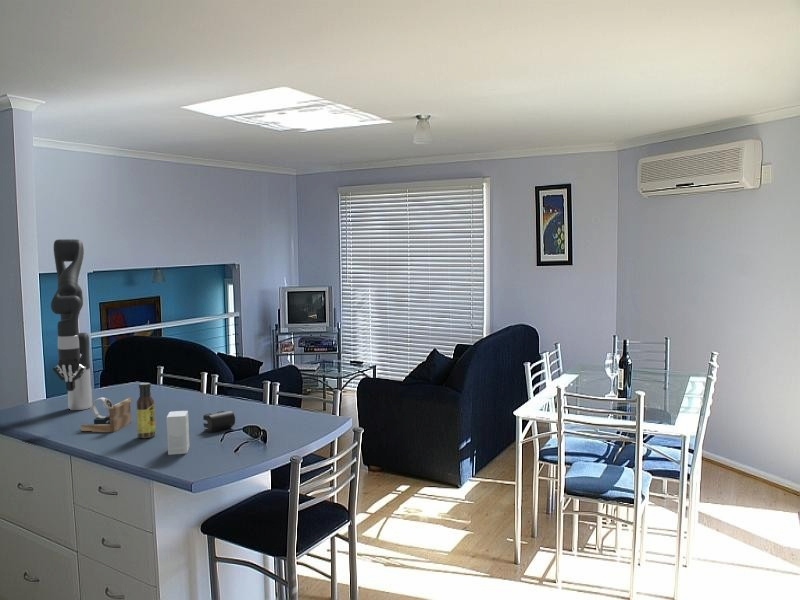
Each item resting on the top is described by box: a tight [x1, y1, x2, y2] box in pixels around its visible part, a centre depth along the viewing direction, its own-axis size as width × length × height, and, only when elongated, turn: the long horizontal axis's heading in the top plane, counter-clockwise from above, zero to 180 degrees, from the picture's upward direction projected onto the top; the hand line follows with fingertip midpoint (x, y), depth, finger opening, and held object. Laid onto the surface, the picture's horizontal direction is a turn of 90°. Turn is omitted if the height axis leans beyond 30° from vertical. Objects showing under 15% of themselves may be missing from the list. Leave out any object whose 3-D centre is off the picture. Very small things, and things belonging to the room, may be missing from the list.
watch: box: [90, 396, 114, 424], centre depth 265 cm, size 6×8×11 cm
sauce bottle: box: [136, 382, 156, 439], centre depth 247 cm, size 6×6×20 cm
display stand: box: [80, 397, 133, 433], centre depth 262 cm, size 14×14×10 cm
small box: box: [165, 410, 190, 456], centre depth 230 cm, size 8×6×13 cm
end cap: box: [202, 410, 236, 433], centre depth 256 cm, size 10×7×7 cm
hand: (70, 390), depth 263 cm, fingers closed
